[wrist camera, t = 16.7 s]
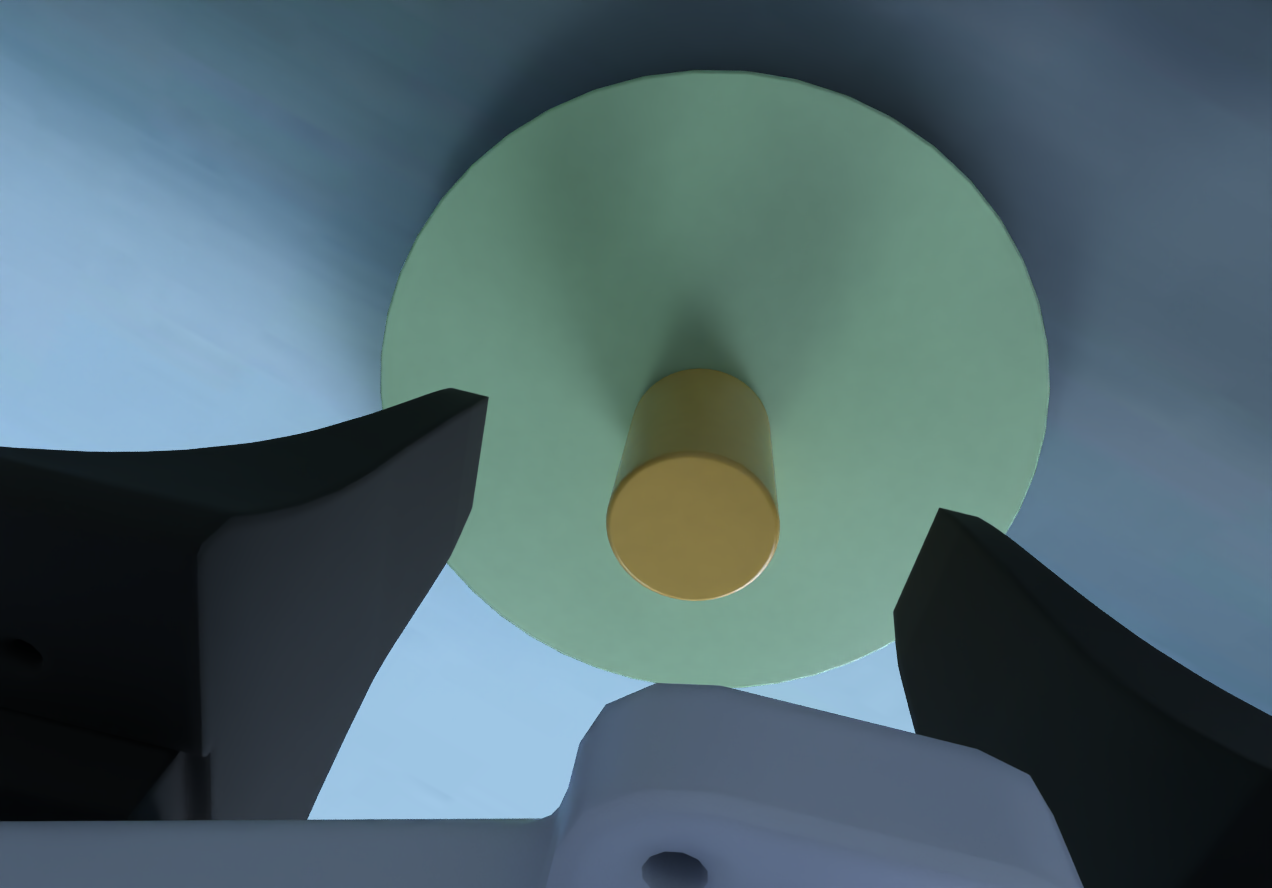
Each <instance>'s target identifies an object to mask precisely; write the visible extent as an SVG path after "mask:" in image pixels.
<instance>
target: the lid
mask: <svg viewBox="0 0 1272 888" xmlns="http://www.w3.org/2000/svg"><path fill="white" fill-rule="evenodd" d="M447 388H455V389H459V390H463V391H467V392H471V393H475V394H479V395H483V396H487V397H489V400H488V406H487V413H486V420H485V426H484V433H483V440H482V446H481V453H480V460H479V467H478V473H477V480H476V487H475V493H474V500H473V507H472V510H471V512H470V514H469V517H468V519H467V521H466V524H465V526H464V528H463V531H462V533H461V535H460V537H459V539H458V542H457V544H456V546H455V548H454V550H453V552H452V555H451V556H450V558H449V560H448V561H447V564H448V565H449V566H450V567H451V568H452V569H453V570H454V572H455V573H456V574H457V575H458V576H459V577H460V578H461V579H462V580H463V581H464V582H465V583H466V585H467V586H468V587H469V588H470V589H471V590H472V591H473V592H474V593H475V594H476V595H477V596H479V597H480V598H481V599H482V600H483V601H484V602H485V603H487V604H488V605H489V606H490V607H491V608H492V609H494V610H495V611H496V612H497V613H498V614H499V615H500V616H502V617H503V618H505V619H506V620H508V621H509V622H511V623H512V624H513V625H515V626H516V627H518V628H519V629H521V630H522V631H524V632H525V633H526V634H528V635H529V636H531V637H533V638H535V639H536V640H538V641H540V642H542V643H544V644H546V645H547V646H549V647H551V648H553V649H555V650H557V651H558V652H560V653H562V654H564V655H567V656H569V657H572V658H574V659H576V660H579V661H581V662H584V663H586V664H588V665H591V666H593V667H596V668H599V669H602V670H605V671H609V672H612V673H615V674H619V675H622V676H625V677H629V678H633V679H638V680H643V681H648V682H653V683H670V684H696V685H720V686H724V687H728V688H744V687H752V686H761V685H769V684H778V683H782V682H787V681H791V680H796V679H800V678H805V677H809V676H813V675H817V674H820V673H823V672H826V671H829V670H831V669H834V668H837V667H840V666H843V665H846V664H849V663H852V662H854V661H856V660H858V659H860V658H862V657H864V656H867V655H869V654H871V653H873V652H875V651H877V650H879V649H882V648H884V647H886V646H887V645H889V644H891V643H892V642H894V641H895V630H894V617H893V611H894V608H895V606H896V604H897V602H898V599H899V597H900V595H901V593H902V590H903V588H904V586H905V584H906V581H907V579H908V577H909V575H910V572H911V570H912V568H913V566H914V563H915V561H916V559H917V557H918V554H919V552H920V550H921V548H922V545H923V543H924V541H925V538H926V536H927V534H928V532H929V529H930V527H931V525H932V523H933V520H934V518H935V516H936V514H937V511H938V509H939V507H940V508H944V509H948V510H952V511H956V512H960V513H964V514H968V515H972V516H976V517H979V518H981V519H983V520H984V521H986V522H988V523H989V524H991V525H992V526H994V527H995V528H997V529H998V530H1000V531H1001V532H1002V533H1004V534H1006V532H1007V531H1008V529H1009V527H1010V526H1011V524H1012V522H1013V520H1014V519H1015V517H1016V515H1017V513H1018V512H1019V510H1020V508H1021V505H1022V503H1023V501H1024V498H1025V496H1026V493H1027V491H1028V488H1029V486H1030V483H1031V481H1032V479H1033V476H1034V474H1035V471H1036V467H1037V463H1038V459H1039V455H1040V451H1041V447H1042V443H1043V439H1044V436H1045V432H1046V423H1047V413H1048V403H1049V394H1050V379H1049V357H1048V344H1047V339H1046V334H1045V329H1044V324H1043V319H1042V314H1041V309H1040V304H1039V301H1038V298H1037V295H1036V292H1035V290H1034V287H1033V284H1032V282H1031V279H1030V276H1029V273H1028V271H1027V268H1026V265H1025V263H1024V260H1023V258H1022V256H1021V254H1020V253H1019V251H1018V249H1017V247H1016V245H1015V244H1014V242H1013V240H1012V238H1011V236H1010V235H1009V233H1008V231H1007V229H1006V227H1005V226H1004V224H1003V222H1002V220H1001V219H1000V217H999V216H998V215H997V213H996V212H995V211H994V210H993V208H992V207H991V206H990V204H989V203H988V202H987V201H986V199H985V198H984V197H983V195H982V194H981V193H980V192H979V190H978V189H977V188H976V186H975V185H974V184H973V183H972V181H971V180H970V179H969V178H968V177H967V176H965V175H964V174H963V173H962V172H961V171H960V170H959V169H958V168H957V167H956V166H955V165H954V164H953V163H952V162H951V161H950V160H948V159H947V158H946V157H945V156H944V155H943V154H942V153H941V152H940V151H939V150H938V149H937V148H936V147H935V146H933V145H932V144H930V143H929V142H927V141H926V140H924V139H923V138H922V137H920V136H919V135H917V134H916V133H914V132H913V131H911V130H910V129H909V128H907V127H906V126H904V125H903V124H901V123H900V122H898V121H897V120H896V119H894V118H892V117H890V116H888V115H886V114H884V113H882V112H880V111H878V110H876V109H874V108H872V107H870V106H868V105H866V104H864V103H862V102H860V101H858V100H856V99H854V98H852V97H850V96H847V95H844V94H841V93H838V92H835V91H832V90H829V89H826V88H823V87H819V86H816V85H813V84H810V83H807V82H804V81H801V80H798V79H793V78H787V77H781V76H775V75H769V74H763V73H757V72H751V71H733V70H689V71H681V72H673V73H665V74H656V75H648V76H643V77H639V78H635V79H632V80H628V81H624V82H621V83H617V84H613V85H610V86H606V87H602V88H598V89H595V90H592V91H590V92H588V93H586V94H583V95H581V96H579V97H576V98H574V99H572V100H569V101H567V102H565V103H562V104H560V105H558V106H555V107H553V108H551V109H549V110H547V111H545V112H544V113H542V114H541V115H539V116H537V117H536V118H534V119H532V120H531V121H529V122H528V123H526V124H524V125H523V126H521V127H519V128H518V129H516V130H515V131H513V132H511V133H510V134H508V135H507V136H506V137H504V138H503V139H502V140H501V141H500V142H498V143H497V144H496V145H495V146H494V147H492V148H491V149H490V150H489V151H488V152H486V153H485V154H484V155H483V156H482V157H481V158H479V159H478V160H477V161H476V162H475V163H473V164H472V165H471V166H470V167H469V169H468V170H467V171H466V172H465V173H464V174H463V175H462V176H461V177H460V179H459V180H458V181H457V182H456V183H455V184H454V185H453V186H452V188H451V189H450V190H449V191H448V192H447V193H446V194H445V195H444V196H443V198H442V199H441V200H440V202H439V203H438V205H437V206H436V208H435V209H434V211H433V212H432V214H431V215H430V217H429V218H428V220H427V222H426V223H425V225H424V226H423V228H422V229H421V231H420V232H419V234H418V235H417V237H416V239H415V242H414V244H413V246H412V248H411V250H410V252H409V254H408V256H407V259H406V261H405V263H404V265H403V267H402V269H401V271H400V273H399V277H398V280H397V283H396V286H395V290H394V293H393V296H392V300H391V303H390V306H389V309H388V313H387V319H386V325H385V332H384V338H383V344H382V351H381V400H382V408H383V410H384V409H387V408H389V407H392V406H395V405H398V404H401V403H404V402H407V401H409V400H412V399H415V398H418V397H421V396H423V395H426V394H429V393H432V392H435V391H439V390H442V389H447Z"/></svg>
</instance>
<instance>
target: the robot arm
mask: <svg viewBox="0 0 1272 888" xmlns="http://www.w3.org/2000/svg"><path fill="white" fill-rule="evenodd" d="M488 400H489V397H487V396H483V395H479V394H475V393H471V392H467V391H463V390H459V389H455V388H447V389H442V390H439V391H435V392H432V393H429V394H426V395H423V396H421V397H418V398H415V399H412V400H409V401H407V402H404V403H401V404H398V405H395V406H392V407H389V408H387V409H384V410H381V411H378V412H375V413H372V414H369V415H366V416H362V417H359V418H356V419H352V420H349V421H345V422H342V423H339V424H335V425H332V426H328V427H325V428H322V429H318V430H314V431H310V432H306V433H301V434H297V435H292V436H287V437H281V438H276V439H271V440H265V441H260V442H253V443H246V444H237V445H227V446H218V447H208V448H198V449H189V450H172V451H149V452H84V451H65V450H46V449H28V448H11V447H0V888H1272V716H1270V715H1269V714H1267V713H1265V712H1263V711H1261V710H1259V709H1257V708H1256V707H1254V706H1252V705H1250V704H1248V703H1246V702H1244V701H1243V700H1241V699H1239V698H1237V697H1235V696H1233V695H1231V694H1230V693H1228V692H1226V691H1224V690H1223V689H1221V688H1219V687H1217V686H1216V685H1214V684H1212V683H1210V682H1209V681H1207V680H1205V679H1204V678H1202V677H1200V676H1199V675H1197V674H1195V673H1194V672H1192V671H1191V670H1189V669H1187V668H1186V667H1184V666H1183V665H1181V664H1180V663H1178V662H1176V661H1175V660H1173V659H1172V658H1170V657H1168V656H1167V655H1165V654H1164V653H1162V652H1160V651H1159V650H1157V649H1156V648H1154V647H1153V646H1151V645H1150V644H1148V643H1147V642H1145V641H1144V640H1142V639H1141V638H1139V637H1138V636H1137V635H1135V634H1134V633H1132V632H1131V631H1129V630H1128V629H1127V628H1125V627H1124V626H1123V625H1121V624H1120V623H1118V622H1117V621H1116V620H1114V619H1113V618H1112V617H1110V616H1109V615H1107V614H1106V613H1105V612H1103V611H1102V610H1101V609H1099V608H1098V607H1097V606H1095V605H1094V604H1093V603H1091V602H1090V601H1089V600H1087V599H1086V598H1085V597H1084V596H1082V595H1081V594H1080V593H1078V592H1077V591H1076V590H1074V589H1073V588H1072V587H1071V586H1069V585H1068V584H1067V583H1066V582H1064V581H1063V580H1062V579H1061V578H1059V577H1058V576H1057V575H1056V574H1054V573H1053V572H1052V571H1051V570H1049V569H1048V568H1047V567H1046V566H1044V565H1043V564H1042V563H1041V562H1039V561H1038V560H1037V559H1036V558H1034V557H1033V556H1032V555H1031V554H1029V553H1028V552H1027V551H1026V550H1024V549H1023V548H1022V547H1021V546H1019V545H1018V544H1017V543H1016V542H1014V541H1013V540H1012V539H1010V538H1009V537H1008V536H1006V535H1005V534H1004V533H1002V532H1001V531H1000V530H998V529H997V528H995V527H994V526H992V525H991V524H989V523H988V522H986V521H984V520H983V519H981V518H979V517H976V516H972V515H968V514H964V513H960V512H956V511H952V510H948V509H944V508H940V507H939V509H938V511H937V514H936V516H935V518H934V520H933V523H932V525H931V527H930V529H929V532H928V534H927V536H926V538H925V541H924V543H923V545H922V548H921V550H920V552H919V554H918V557H917V559H916V561H915V563H914V566H913V568H912V570H911V572H910V575H909V577H908V579H907V581H906V584H905V586H904V588H903V590H902V593H901V595H900V597H899V599H898V602H897V604H896V606H895V608H894V611H893V617H894V630H895V643H896V651H897V660H898V667H899V671H900V675H901V680H902V683H903V687H904V691H905V695H906V699H907V703H908V707H909V711H910V714H911V718H912V722H913V726H914V729H915V733H916V734H914V733H910V732H906V731H902V730H898V729H894V728H890V727H886V726H882V725H878V724H874V723H870V722H866V721H862V720H857V719H853V718H849V717H845V716H841V715H837V714H833V713H829V712H825V711H821V710H817V709H813V708H809V707H805V706H801V705H797V704H793V703H789V702H785V701H781V700H777V699H772V698H768V697H764V696H760V695H756V694H752V693H748V692H744V691H740V690H736V689H732V688H728V687H724V686H720V685H696V684H670V683H656V684H653V685H651V686H649V687H646V688H644V689H642V690H639V691H637V692H635V693H632V694H630V695H628V696H625V697H623V698H620V699H618V700H616V701H613V702H611V703H609V704H606V705H605V707H604V708H603V710H602V711H601V712H600V714H599V715H598V717H597V718H596V720H595V721H594V723H593V724H592V726H591V727H590V729H589V730H588V732H587V733H586V735H585V736H584V737H583V739H582V740H581V742H580V744H579V748H578V752H577V756H576V760H575V764H574V768H573V771H572V775H571V779H570V783H569V787H568V790H567V792H566V794H565V796H564V798H563V801H562V803H561V805H560V807H559V808H558V809H557V810H556V811H555V812H554V813H553V814H552V815H550V816H547V817H545V818H542V819H365V820H307V819H308V816H309V814H310V812H311V810H312V807H313V805H314V803H315V801H316V799H317V796H318V794H319V792H320V790H321V788H322V785H323V783H324V781H325V779H326V777H327V775H328V773H329V770H330V768H331V766H332V764H333V762H334V760H335V758H336V756H337V753H338V751H339V749H340V747H341V745H342V743H343V741H344V738H345V736H346V734H347V732H348V730H349V728H350V726H351V724H352V722H353V720H354V718H355V716H356V714H357V712H358V710H359V708H360V706H361V704H362V701H363V699H364V697H365V695H366V693H367V691H368V689H369V687H370V685H371V683H372V681H373V679H374V677H375V676H376V674H377V672H378V670H379V669H380V667H381V665H382V663H383V662H384V660H385V658H386V657H387V655H388V653H389V652H390V650H391V649H392V647H393V646H394V644H395V642H396V641H397V639H398V638H399V636H400V635H401V633H402V632H403V630H404V629H405V627H406V625H407V624H408V622H409V621H410V619H411V618H412V616H413V615H414V613H415V611H416V610H417V608H418V607H419V605H420V604H421V602H422V601H423V599H424V598H425V596H426V594H427V593H428V591H429V590H430V588H431V587H432V585H433V583H434V582H435V580H436V579H437V577H438V576H439V574H440V572H441V571H442V569H443V568H444V566H445V565H446V563H447V561H448V560H449V558H450V556H451V555H452V552H453V550H454V548H455V546H456V544H457V542H458V539H459V537H460V535H461V533H462V531H463V528H464V526H465V524H466V521H467V519H468V517H469V514H470V512H471V510H472V507H473V500H474V493H475V487H476V480H477V473H478V467H479V460H480V453H481V446H482V440H483V433H484V426H485V420H486V413H487V406H488Z"/></svg>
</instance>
